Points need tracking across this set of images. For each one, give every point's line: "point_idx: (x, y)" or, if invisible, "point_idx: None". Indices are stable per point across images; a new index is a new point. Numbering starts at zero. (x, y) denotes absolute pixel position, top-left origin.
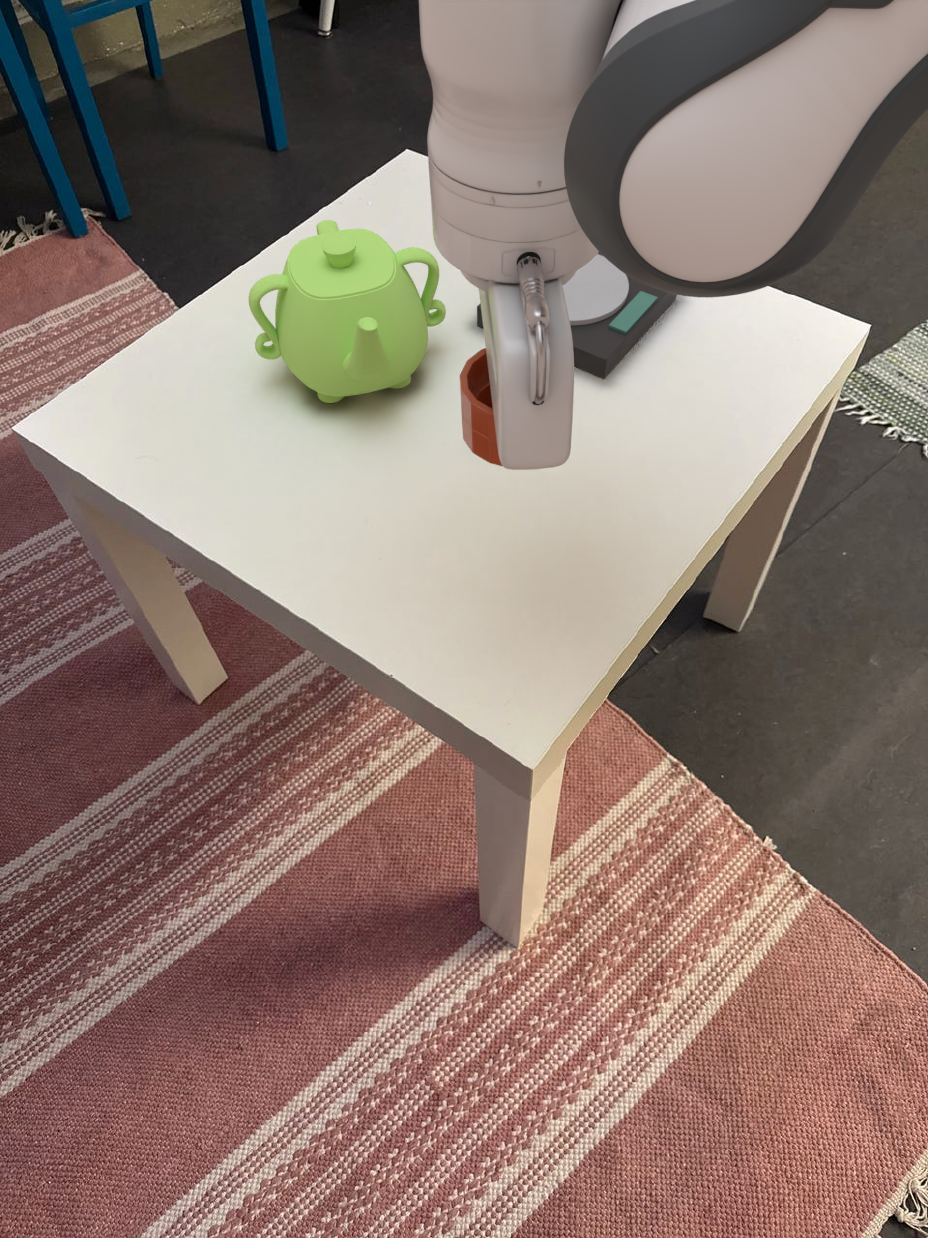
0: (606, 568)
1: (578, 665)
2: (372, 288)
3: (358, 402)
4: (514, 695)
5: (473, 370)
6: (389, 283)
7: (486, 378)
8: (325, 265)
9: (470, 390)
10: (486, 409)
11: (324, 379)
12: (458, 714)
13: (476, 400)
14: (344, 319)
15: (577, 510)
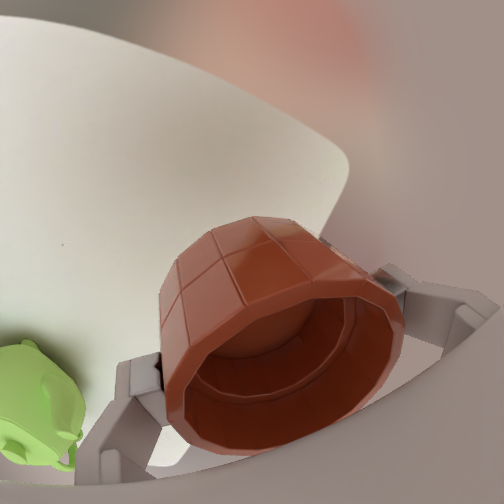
0: (172, 118)
1: (282, 131)
2: (22, 429)
3: (63, 365)
4: (313, 177)
5: (255, 436)
6: (8, 418)
7: (212, 400)
8: (27, 451)
9: (264, 411)
10: (375, 390)
11: (81, 404)
12: (329, 214)
13: (355, 410)
14: (52, 429)
15: (104, 160)
